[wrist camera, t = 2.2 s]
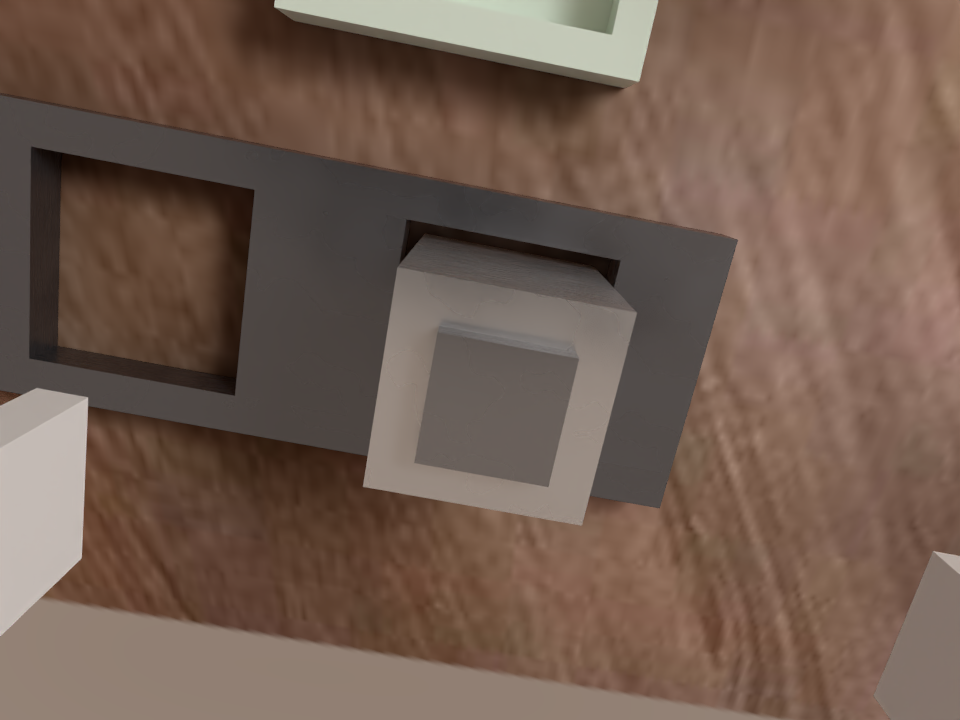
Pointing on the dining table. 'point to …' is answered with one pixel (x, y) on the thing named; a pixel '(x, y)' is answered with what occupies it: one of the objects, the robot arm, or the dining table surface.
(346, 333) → the grey double switch frame
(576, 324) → the square stepped knob
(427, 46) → the parts tray
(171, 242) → the dining table surface
